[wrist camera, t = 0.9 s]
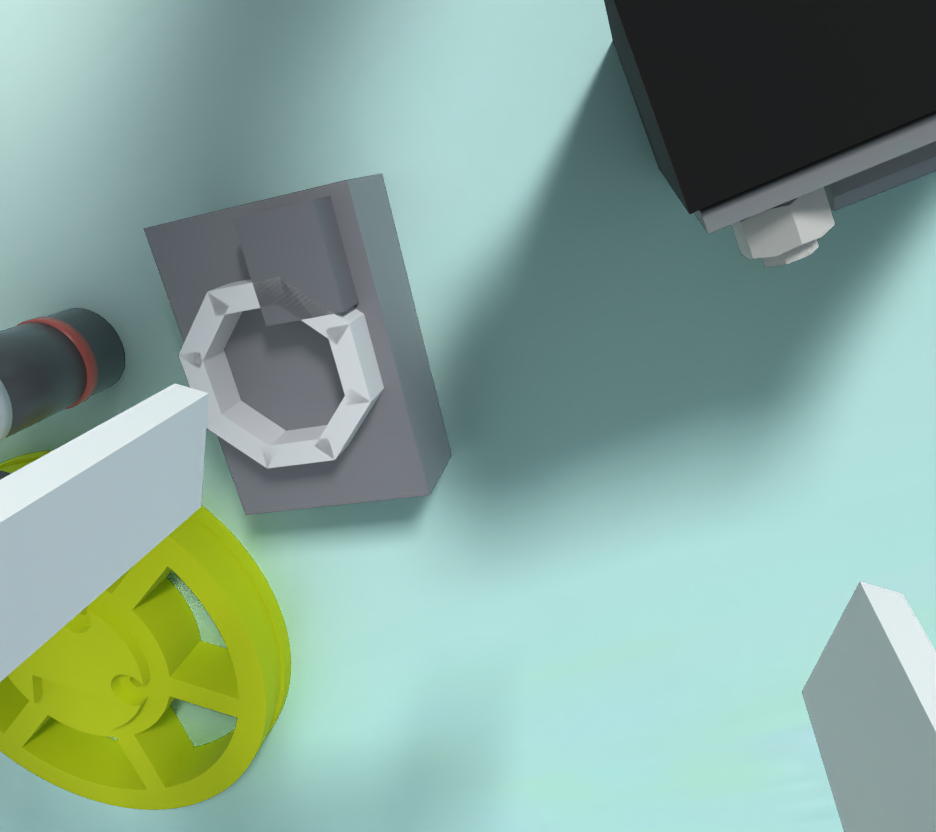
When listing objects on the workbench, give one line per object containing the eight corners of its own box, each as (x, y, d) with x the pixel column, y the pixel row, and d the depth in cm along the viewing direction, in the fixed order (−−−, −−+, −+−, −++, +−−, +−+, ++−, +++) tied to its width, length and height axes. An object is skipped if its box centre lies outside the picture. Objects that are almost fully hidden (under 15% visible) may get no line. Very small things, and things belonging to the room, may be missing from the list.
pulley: (-3, 371, 47) (-71, 397, 43) (356, 595, 48) (328, 644, 43) (-78, 640, 59) (-137, 683, 54) (212, 818, 59) (177, 875, 55)
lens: (35, 314, 45) (-158, 374, 34) (106, 299, 43) (-71, 357, 32) (69, 396, 46) (-104, 478, 35) (138, 384, 45) (-20, 465, 34)
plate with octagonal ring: (199, 217, 40) (117, 234, 34) (381, 173, 37) (330, 182, 31) (284, 475, 45) (227, 532, 39) (451, 455, 42) (419, 513, 36)
